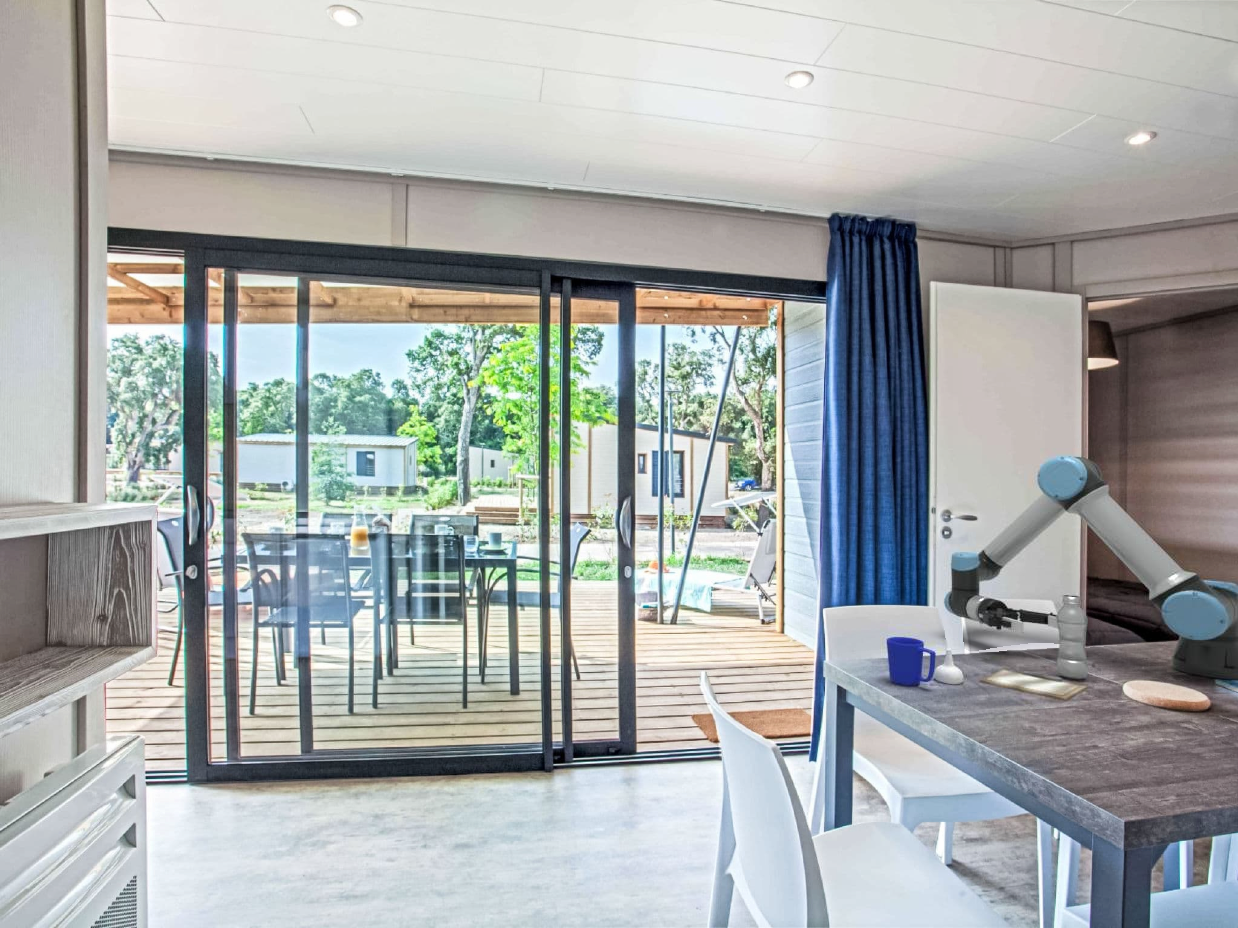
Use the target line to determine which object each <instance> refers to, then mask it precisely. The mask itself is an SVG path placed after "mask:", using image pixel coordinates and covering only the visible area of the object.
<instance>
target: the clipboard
mask: <svg viewBox="0 0 1238 928" xmlns="http://www.w3.org/2000/svg"><path fill="white" fill-rule="evenodd" d="M982 682H983V683H984V684H988V685H993V686H996V687H1002V688H1005V689H1009V690H1010V689H1011V690H1015V691H1018V692H1019V691H1020V692H1023V693H1029V694H1032V695H1033V694H1034V695H1037V696H1042V697H1046V698H1050V699H1051V698H1052V699H1057V700H1061V701H1068V700H1069V699H1071V698H1073V697H1075V696H1076V695H1078V694H1080V693H1081V692H1084V691H1085V690H1087V688H1088V686H1086V685H1082V684H1078V683H1071V682H1067V681H1063V678H1062V677H1058V676H1053V675H1048V674H1044V673H1043V674H1042V673H1037V672H1033V671H1028V670H1024V671H1022V672H1017V671H1012V670H1006V669H1002V670H999V671H997V672H995V673H992V674H990V675H987V676H985V677H983V678H981V679H979V683H982Z"/></svg>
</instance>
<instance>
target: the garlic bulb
mask: <svg viewBox="0 0 1238 928" xmlns="http://www.w3.org/2000/svg"><path fill="white" fill-rule="evenodd" d="M945 650H946V652H945V658H944V662H943V664H940V665H938V666H937V667H935V669H934V674H933V677H934V678H935V680H936V681H937V682H939V683H941V682H943V683H942V684H945V683H946V685H959V684H960V685H961V684H962V683H963V681H964V674H963V672H962V671H961V669H960V668H959V667H957V666H955V663H954V658H953V653H952V649H951V648H946V649H945Z"/></svg>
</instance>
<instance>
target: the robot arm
mask: <svg viewBox="0 0 1238 928" xmlns="http://www.w3.org/2000/svg"><path fill="white" fill-rule="evenodd" d="M1102 478H1103V475H1102V472H1101V469H1100V468H1099V466H1098V464H1096V463H1095V462H1094V461H1093V460H1091V459H1088V458H1086V457H1083V456H1074V455H1073V456H1072V455H1067V454H1063V455H1058V456H1054V457H1052V458H1049V459H1048V460H1046V461H1045V462H1044V463H1043V464H1042V465H1041V466H1040V467H1039V470H1038V473H1037V477H1036V479H1037V481H1036V482H1037V486H1039V488H1040V491H1041V493H1042V494H1041V495H1040V496H1039V497H1038V498H1036V500H1034V501H1033V502H1032V504H1030V505H1029V506H1028V507H1027V508H1026V509H1025V510H1024V511H1023V512H1021V514H1020V515H1018V516H1017V517H1016V518H1015V519H1014V520H1013V521H1012V522H1011V523H1009V525H1008V526H1006V527H1005V528H1004V529H1003V531H1001V532H1000V533H999V534H998V535H997V536H996V537H995V538H994V539H993V540H992V541H991V542H990V543H988V545H986V546H985V547H984V548H983V549H982V550H981V551H980V552H979V553H976V552H966V551H965V552H964V551H963V552H962V551H960V552H957V551H956V552H953V553H952V554H951V560H950V561H951V562H950V569H951V570H950V571H951V573H950V575H951V590H949V591H948V592H947V593H946V594H945V595H946V596H945V598H944V600H943V604H944V607H945V608H946V610H947V611H948V612H949V613H950V614H952V615H955V616H957V617H959V618H964V619H967V620H971V621H974V622H978V623H979V625H983V624H984V625H987V626H988V627H990V628H993V627H996V630H999V631H1000V630H1001V631H1002V629H1006V630H1010V631H1013V632H1017V633H1020V634H1023V633H1024V623H1031V624H1037V625H1047V626H1048V627H1051V628H1055V629H1058V624H1057V617H1056V616H1057V614H1054V613H1053V612H1050V613H1045V612H1039V611H1033V610H1032V611H1031V610H1026V609H1022V608H1020V609H1014V608H1012V607H1011V608H1010V607H1008V606H1007V604H1006V603H1004V602H1003V601H1002V600H1000V599H995V598H990V597H989V596H988V597H987V596H982V595H980V583H981V582H984V581H991V580H993V579H995V578H997V577H999V575H1000V572H1001V571H1002V570H1003V568H1004V567H1005V566H1006V565H1007V564H1009V562H1011V561H1012V560H1013V559H1014V558H1016V557H1017V556H1018V555H1019V554H1020V553H1021V552H1022V551H1023V550H1024V549H1026V548H1027V547H1028V546H1029V545H1030V544H1031V543H1032V542H1033V541H1034V540H1035V539H1037V538H1038V537H1039V536H1040V535H1041V534H1043V532H1044V531H1046V530H1047V529H1048V528H1049V527H1050V526H1052V525H1053V523H1055V522H1056V521H1057V520H1058V519H1059V518H1061V516H1062V515H1064V513H1066V512H1067V514H1075V515H1078V516H1079V517H1080V518H1081V519H1082V521H1083V522H1084V523H1085V524H1086V525H1087V526H1089V528H1090V529H1091V530H1092V531H1093V532H1094V533H1095V534H1096V535H1097V536H1098V537H1099V538H1100V539H1101V540H1102V542H1103V543H1104V544H1105V545H1106V546H1107V547H1108V548H1109V549H1110V550H1111V551H1112V552H1113V553H1114V554H1115V556H1116V557H1118V559H1119V560H1121V562H1122V563H1123V564H1124V565H1125V566H1126V567H1127V568H1128V569H1129V570H1130V571H1131V572H1132V573H1133V574H1134V575H1135V577H1137V579H1138V580H1139V581H1140V582H1141V583H1142V584H1143V585H1144V586H1145V587H1146V588H1147V589H1148V590H1149V595H1148V600H1149V601H1150V602H1151V604H1153V605H1154V606H1155V607H1156V609H1157V610H1158V611H1160V613H1161V616H1162V618H1163V619H1162V620H1163V621H1164V622H1165V625H1166V626H1167V627H1168V628H1169V629H1170V631H1172V632H1174V633H1175V634H1177V635H1178V636H1179V639H1178V640H1177V643H1176V644H1175V645H1176V646H1175V648H1174V650H1173V653H1172V655H1171V658H1170V659H1171V660H1170V661H1171V665H1170V666H1171V667H1172V668H1173V669H1175V670H1177V671H1180V672H1183V673H1187V674H1190V675H1195V676H1199V677H1206V678H1213V679H1222V680H1223V679H1224V680H1238V585H1237V584H1236V583H1234V582H1228V581H1227V582H1226V581H1218V580H1208V579H1207V580H1205V579H1204V580H1203V579H1202V578H1201V576H1199V575H1198V574H1197V573H1195V572H1192V571H1191V572H1190V571H1186V570H1184V569H1182V568H1181V567H1180V566H1179V565H1178V564H1177V563H1176V561H1175V560H1174V559H1173V558H1172V557H1171V556H1170V555H1169V554H1168V553H1167V552H1166V551H1165V550H1164V549H1163V548H1162V547H1161V546H1160V545H1159V544H1158V543H1156V541H1155V540H1154V539H1153V538H1152V537H1151V536H1150V535H1149V534H1148V533H1147V532H1146V531H1145V530H1144V529H1143V528H1142V526H1140V525H1139V524H1138V523H1137V522H1136V521H1135V520H1134V519H1133V518H1132V517H1131V516H1130V515H1129V514H1128V513H1127V512H1126V511H1125V510H1124V509H1123V507H1121V506H1120V505H1119V504H1118V502H1116V501H1115V500H1114V499H1113V498H1112V497H1111V496H1110V494H1109V489H1110V488H1109V487H1110V486H1109V485H1108V484H1107V483H1106V482H1105V481H1104V479H1102Z"/></svg>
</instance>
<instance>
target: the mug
mask: <svg viewBox="0 0 1238 928" xmlns="http://www.w3.org/2000/svg"><path fill="white" fill-rule="evenodd" d="M924 645H925V643H924V641H923V640H920V639H918V638H913V637H906V636H891V637H887V638H886V650H887V651H886V652H887V659H888V673H889V677H890V680H891V681H892V682H893V683H894V684H896V685H901V686H906V685H907V687H908V686H909V687H911V686H917V685H920V683H921V682H922V683H928V682H931V681H932V679H933V677H934V672H935V669H936V655H937V654H936V651H934V650H932V649H928V648H925V646H924ZM924 653H927V654H929V657H930V659H929V671H928V675H927V677H926V678H923V673H922V672H923V661H924V659H923V658H924Z"/></svg>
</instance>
